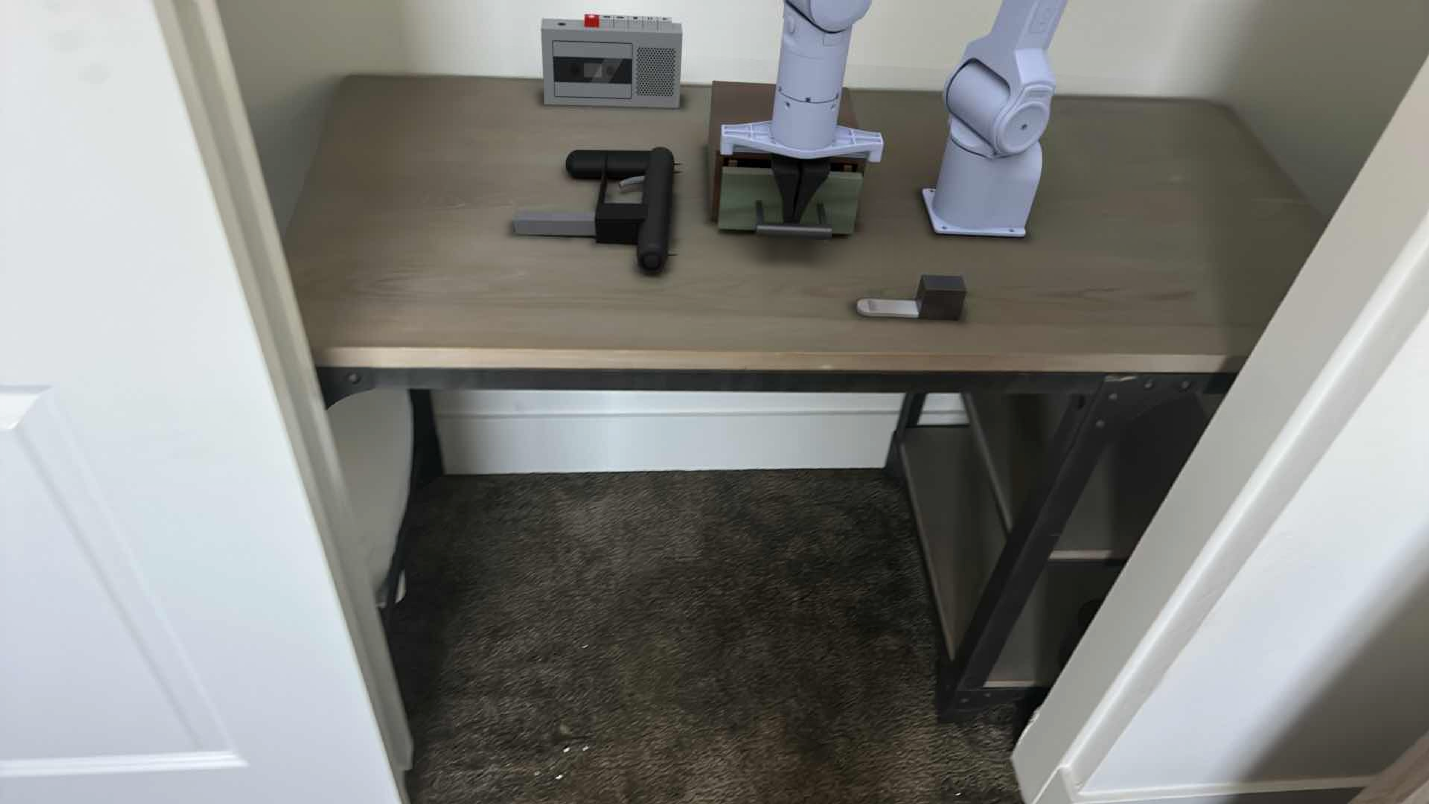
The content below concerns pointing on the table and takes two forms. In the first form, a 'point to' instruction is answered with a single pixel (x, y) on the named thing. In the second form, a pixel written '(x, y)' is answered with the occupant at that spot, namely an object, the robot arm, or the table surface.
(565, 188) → the table surface
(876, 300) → the grey sheathed bar
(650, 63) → the cassette player
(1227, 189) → the table surface
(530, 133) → the table surface
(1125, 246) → the table surface
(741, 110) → the cabinet
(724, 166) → the drawer
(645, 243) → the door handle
